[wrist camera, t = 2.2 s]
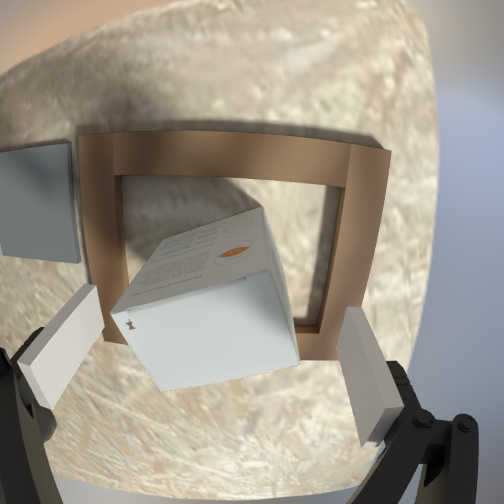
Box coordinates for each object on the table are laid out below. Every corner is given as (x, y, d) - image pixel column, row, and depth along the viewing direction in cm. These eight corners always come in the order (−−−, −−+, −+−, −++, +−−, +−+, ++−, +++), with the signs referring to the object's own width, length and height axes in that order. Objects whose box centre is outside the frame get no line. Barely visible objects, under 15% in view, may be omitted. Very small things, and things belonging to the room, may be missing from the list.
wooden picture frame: (109, 333, 27) (104, 340, 26) (86, 134, 20) (78, 135, 19) (342, 351, 27) (344, 360, 26) (384, 149, 20) (391, 150, 19)
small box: (190, 298, 25) (157, 394, 15) (162, 236, 23) (104, 314, 13) (286, 272, 24) (302, 368, 14) (264, 203, 22) (270, 269, 12)
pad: (6, 252, 24) (2, 255, 23) (-7, 153, 20) (-11, 154, 19) (81, 260, 24) (78, 263, 23) (71, 142, 20) (67, 143, 19)
